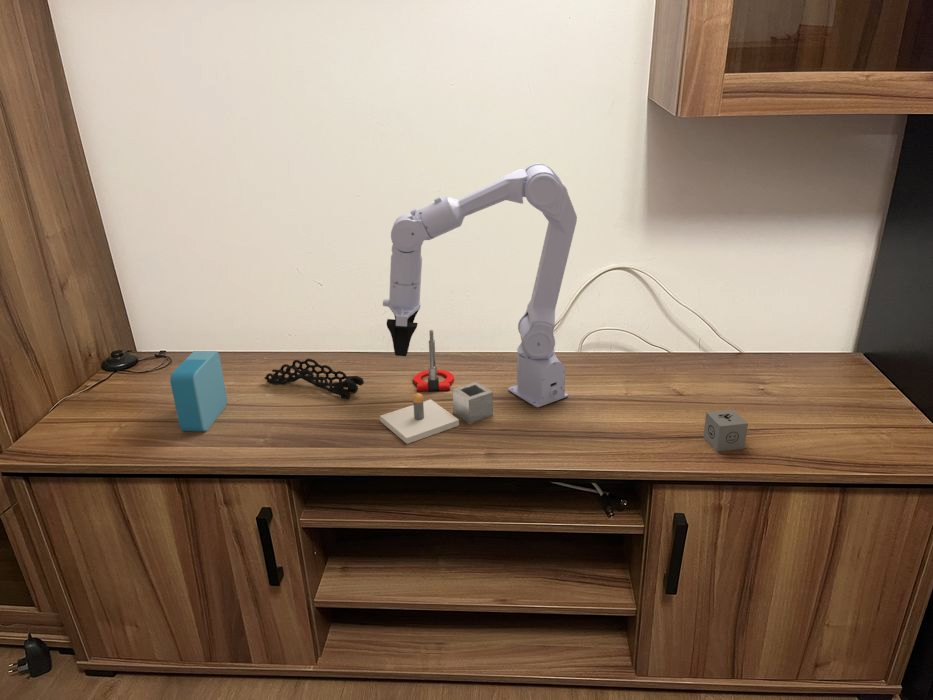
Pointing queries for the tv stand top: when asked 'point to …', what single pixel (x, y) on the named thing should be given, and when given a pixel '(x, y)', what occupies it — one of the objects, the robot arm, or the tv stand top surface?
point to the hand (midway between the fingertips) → (402, 347)
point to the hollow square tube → (472, 402)
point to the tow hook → (433, 373)
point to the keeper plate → (419, 420)
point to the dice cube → (725, 430)
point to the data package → (198, 390)
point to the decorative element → (317, 378)
